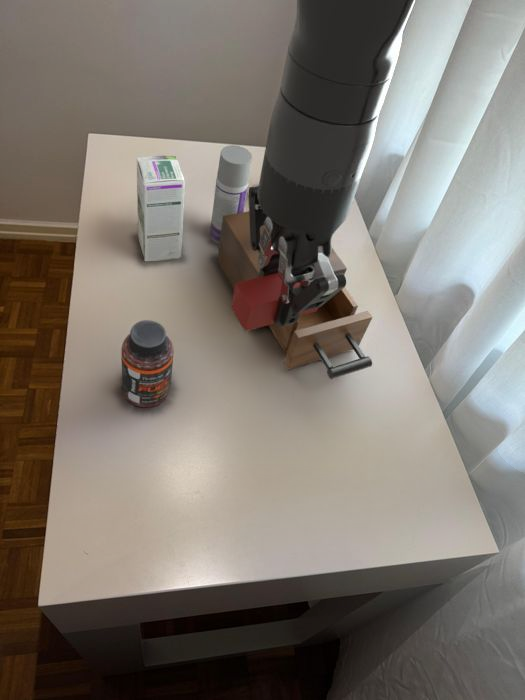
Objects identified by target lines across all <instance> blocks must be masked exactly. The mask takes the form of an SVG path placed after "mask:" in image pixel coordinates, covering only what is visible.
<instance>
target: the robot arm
mask: <svg viewBox="0 0 525 700" xmlns="http://www.w3.org/2000/svg"><path fill="white" fill-rule="evenodd" d="M415 2H416V0H296V14H295V18H294V22H293V26H292V29H291V33H290V38H289V40H288V41H289V42H288V46H287V51H286V57H285V61H284V62H285V63H284V67H283V72H282V76H281V77H282V78H281V83H280V87H279V91H278V95H277V98H276V101H275V104H274V107H273V110H272V113H271V117H270V122H269V127H268V134H267V139H266V144H265V148H264V149H265V150H264V154H263V159H262V165H261V171H260V176H259V182H258V185H256V186H251V187H249V188H248V190H247V194H248V211H249V218H250V243H251V248H252V249H253V251H256V250H258V252H259V256H258V264H259V267H260V272H259V277H262V276H267V275H271V274H275V273H278V277H279V278H280V279H281V280H282V285H281V294H280V296H279V302H278V305H277V309H276V313H275V317H274V323H275V324H276V326H277V327H281V326H287V325H290V324H294V323H296V322H297V321H298V318H299V315H300V312H304V311H308V310H311V309H315V308H318V307H321V306H322V305H323V304H324V303H326V302H327V301H328V300H329V299H331V298H332V297H333V296H334V295H335V294H337V293H338V292H339V291H340V290H341V289H343V288H344V287H345V288H346V286H347V278H346V276H345V275H344V274H343V273H338V274H334V272H333V270H332V267H331V265H330V262H329V260H328V258H329V257H330V255H331V251H332V248H333V247H332V246H333V245H332V244H333V243H332V242H333V235H334V234H335V233H336V231H337V230H338V229H339V228H340V227H341V226H342V225H343V223H344V222H345V221H346V220H347V218H348V217H349V214H350V210H351V207H352V205H353V201H354V199H355V196H356V193H357V191H358V187H359V185H360V181H361V178H362V176H363V173H364V170H365V167H366V164H367V162H368V158H369V156H370V153H371V151H372V147H373V143H374V139H375V136H376V129H377V124H378V121H379V116H380V114H381V113H380V112H381V110H382V107H383V105H384V102H385V98H386V95H387V93H388V89H389V87H390V84H391V80H392V78H393V75H394V71H395V68H396V65H397V62H398V58H399V55H400V49H401V45H402V39H403V31H404V29H405V27H406V24H407V22H408V19H409V17H410V14H411V12H412V10H413V8H414V4H415ZM263 225H264V227H265V228H264V231H263V234H262V236H261V237H260V227H261V226H263ZM298 282H300V286H299V287H296V288H293V286H294V284H295V283H298Z"/></svg>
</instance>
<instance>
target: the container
mask: <svg viewBox="0 0 525 700" xmlns="http://www.w3.org/2000/svg"><path fill="white" fill-rule="evenodd" d="M252 159H253V155H252V152H250V150H248V149H247V148H245V147H244V146H240V145H235V144H234V145H233V144H232V145H227V146H224V147H222V148H221V150H220V155H219V161H218V168H217V174H216V181H215V187H214V197H213V205H212V213H211V221H210V230H209V236H210V239H211V240H212V241H213V242H214V243H216V244H218V245H219V242H220V235H221V228H222V221H223V216H225V215H231V214H236V213H242V212H245V211H244V210H245V205H246V199H247V195H248V189H249V188H248V187H249V180H250V174H251V173H250V172H251V168H252V167H251V166H252Z"/></svg>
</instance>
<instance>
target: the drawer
mask: <svg viewBox="0 0 525 700" xmlns="http://www.w3.org/2000/svg"><path fill="white" fill-rule="evenodd" d="M358 308H359V304H357V301H356V300H355V299H354V297H353V296H352V295H351V294H350V292H349V290H348V289H347V288H346V286H345V287H344V288H343V289H341V290H340V291H339V292H338V293H337V294H335V295H334V296H333V297H332V298H331V299H329V300H328V301H327V302H326V303H324V304H323V305H322V306H321V307H318V309H317V311H315V312H312V313H308V314H305V315H301V316H299V318H298V321H297V322H296V323H294V324H290V325H287V326H281V327H277V326H276V324H275V323H273V324H269V326H268V327H269V329H270V331H271V332H272V334H273V336H274V337H275V339H276V341H277V342H278V344H279V346H280V348H281V350H282V351H283V353H286V355H285V357H284V360H283V364H284V365H285V368H286V370H289V369H294V368H297V367H300V366H303V365H307V364H310V363H313V362H317V361H319V360H321V361H322V363H323V364H324V366H325V368H326V374H327V376H328V378H329V379H330V380H333V379H336V378H340V377H343V376H345V375H349V374H352V373H355V372H359V371H362V370H364V369H368V368H371V367H372V366H373V360H372V358H371V357H370V356H366V355H365V353H364V352H363V350H362V349H361V347H360V345H361V342H362V341H363V339H364V336H365V335H366V332H367V330H368V327H369V326H370V323H371V322H372V319H373V315H372V314H371V312H370V311H369V310H366V311H363V312H359V313H356V312H357V309H358ZM352 350H353V351H354V352H355V354H356V356H357V357H358V359H354V360H350V361H348V362H344V363H341V364H338V365H335V366H334V365H333V364H332V363H331V361H330V359H329V358H330V357H333V356H337V355H339V354H343V353H346V352H350V351H352Z"/></svg>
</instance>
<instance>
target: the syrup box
mask: <svg viewBox="0 0 525 700" xmlns="http://www.w3.org/2000/svg"><path fill="white" fill-rule="evenodd" d="M185 187H186V181H185V177H184V175H183V172H182V169H181V166H180V164H179V161H178V158H177V156H176V155H150V156H149V155H148V156H142V157H136V193H137V195H136V196H137V202H136V203H137V238H138V241H139V245H140V249H141V252H142V256H143V260H144V262H158V261H168V260H176V259H177V260H178V259H181V257H182V247H183V230H184V229H183V227H184V210H185V209H184V208H185V207H184V205H185Z"/></svg>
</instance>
